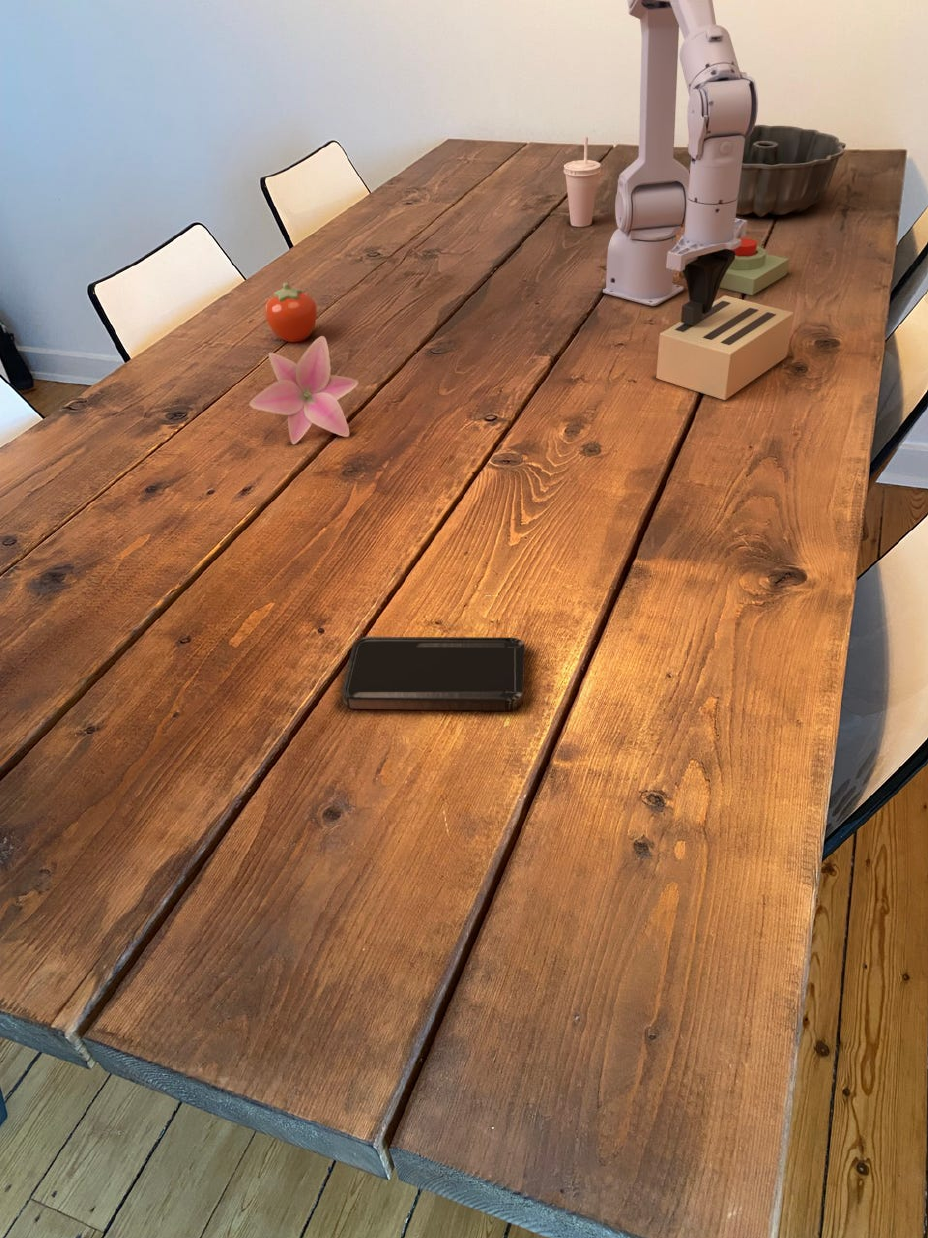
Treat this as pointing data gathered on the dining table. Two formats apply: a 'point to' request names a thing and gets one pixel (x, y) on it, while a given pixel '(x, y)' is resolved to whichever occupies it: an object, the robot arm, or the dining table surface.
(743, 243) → the timer button
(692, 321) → the slider
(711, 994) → the dining table surface
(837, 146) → the bundt pan
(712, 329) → the toaster
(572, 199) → the smoothie
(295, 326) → the tomato
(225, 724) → the dining table surface
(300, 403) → the lily
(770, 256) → the green button base
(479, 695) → the phone
